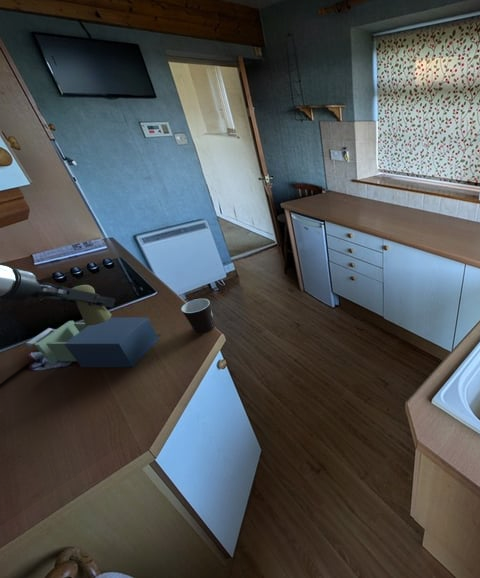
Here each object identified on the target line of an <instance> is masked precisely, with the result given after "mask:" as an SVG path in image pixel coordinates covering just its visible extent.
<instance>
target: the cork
mask: <svg viewBox="0 0 480 578" xmlns="http://www.w3.org/2000/svg"><path fill="white" fill-rule="evenodd" d="M71 289H75V290H80V291H85V292H90V293H96V290H95V288H94V287H93V286H91V285H89V284H81V285H76V286H74V287H72V288H71ZM75 304H76V305H77V309H78V310H79V312H80V315H81V317H82V320H83V323H85V324H86V325H96V324H100V323H103V322H105V321H107V320H108V319H109V318H110V317H111V318H112V313H111V312H110V310H108V309H107V307H106V306H100V305H94V304H93V305H92V306H89V305H88V302H81V301H76V303H75Z"/></svg>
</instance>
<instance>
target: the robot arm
mask: <svg viewBox="0 0 480 578" xmlns="http://www.w3.org/2000/svg"><path fill="white" fill-rule="evenodd" d="M37 280H38V279H37V277H36V275H35V274H34V273H32V272H31V271H27V270H24V269H19V268H15V267H10V266H6V265H3V264H0V301H4V302H9V303H11V302H12V303H21V302H24V301H26V300H27V299H29V298H31V299H32V298H33V299H44V300H45V299H47V300H53V301H55V302H56V301H62V302H69V303H72V304H77V303H76V301H81V302H88V305H89V306H92V305H93V304H94V305H100V306H104V307H105V308H114V306H115V302H116V298H114V297H109V296H105V295H100V294H99V293H96V292H95V293H90V292H85V291H80V290H75V289H72V288H70V287H66V286H64V285H57V284H53V283H50V282H46V281H37Z"/></svg>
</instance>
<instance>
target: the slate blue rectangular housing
mask: <svg viewBox="0 0 480 578" xmlns="http://www.w3.org/2000/svg"><path fill="white" fill-rule="evenodd" d="M159 340H160V339H159V337H158V335H157V333H156V331H155V329H154V327H153V325H152V323H151V321H150V319H149V317H112V316H111V317H110V318H109V319H108V320H107V321H105V322H103V323H100V324H96V325H89V326H87V327H86V328H85V329H83V330H82V331H81V332H79V333H78V334H77V335H75V336H74V337H73V338H71V339H70V340H69V341H67V342H66V343H65V346H66V347H67V348H68V350H69V351H70V352H71V354H72V355H73V356H74V358H75V359H76V360H77V361H76V362H77V363H78V365H79V366H80V368H134V367H136V365H137V364H138V363H139V361H141V359H142V358H143V357H144V356H145V355H146V354H147V353H148V352H149V351H150V350H151V349H152V348H153V347H154V346H155V345H156V344H157V343H158V342H159Z"/></svg>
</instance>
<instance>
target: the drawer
mask: <svg viewBox="0 0 480 578" xmlns="http://www.w3.org/2000/svg"><path fill="white" fill-rule="evenodd" d="M87 326H89V325H86V324H85V322H75V321H74V320H68V321H67V322H65V323H64V324H63V325H61V326H59V327H58V328H57V329H54V328H51V327H48V328H47V329H45V330H43V331H42V332H40V333H39V334H38V335H36V336H34V337H33V338H31V339H30V340H28V341H26V342H25V345H26V346H27V347H33V346H35V348H36V349H37V350H38V351H39V352H40V354H41V355H42V356H43V357H44V359H46V361H47V362H48V363H49V364H50V365H53V364H54V365H55V364H56V363H57V362H58V361H59V362H77V360H76V359H75V358H74V356H73V355H72V354H71V352H70V351H69V350H68V348H67V347H66V346H65V343H66V342H67V341H69V340H70V339H71V338H73V337H74V336H75V335H77V334H78V333H79V332H81V331H82V330H83V329H85V328H86V327H87Z"/></svg>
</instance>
